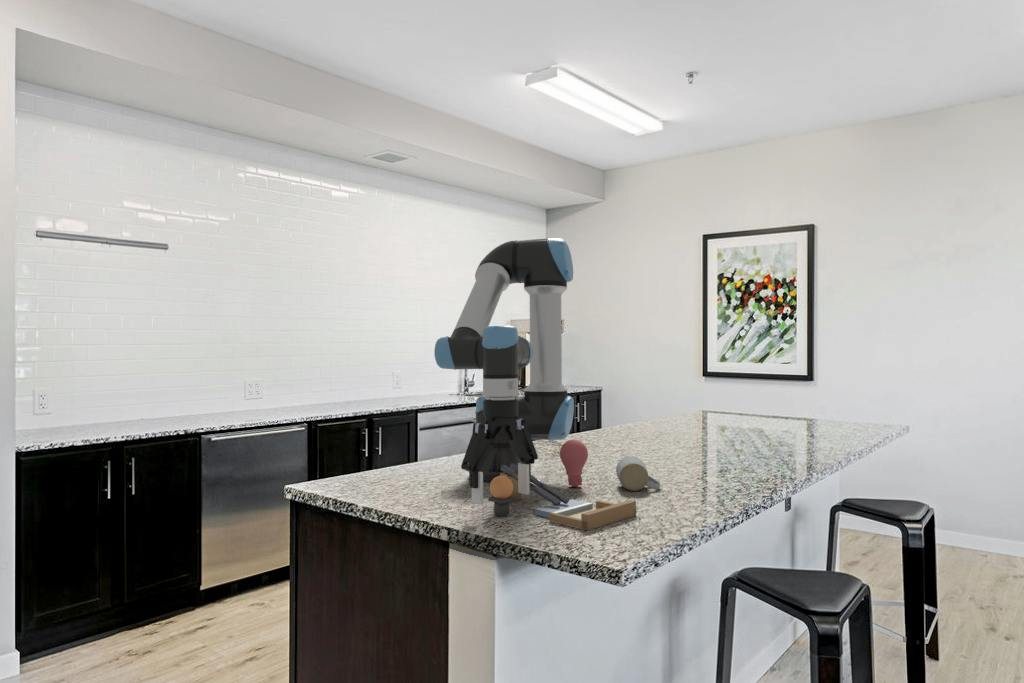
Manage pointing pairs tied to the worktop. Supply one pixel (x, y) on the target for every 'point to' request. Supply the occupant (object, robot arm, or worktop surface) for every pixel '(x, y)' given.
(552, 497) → the ramp
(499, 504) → the tee
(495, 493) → the ball
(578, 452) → the light bulb
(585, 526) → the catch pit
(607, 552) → the worktop surface
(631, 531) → the worktop surface
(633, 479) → the ceramic mug
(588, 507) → the block
